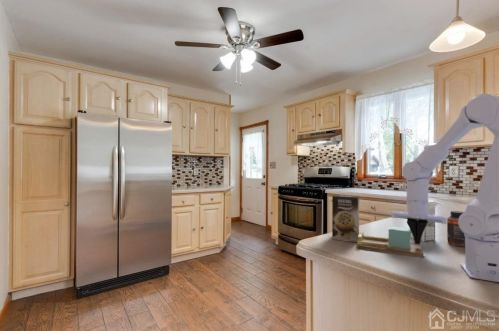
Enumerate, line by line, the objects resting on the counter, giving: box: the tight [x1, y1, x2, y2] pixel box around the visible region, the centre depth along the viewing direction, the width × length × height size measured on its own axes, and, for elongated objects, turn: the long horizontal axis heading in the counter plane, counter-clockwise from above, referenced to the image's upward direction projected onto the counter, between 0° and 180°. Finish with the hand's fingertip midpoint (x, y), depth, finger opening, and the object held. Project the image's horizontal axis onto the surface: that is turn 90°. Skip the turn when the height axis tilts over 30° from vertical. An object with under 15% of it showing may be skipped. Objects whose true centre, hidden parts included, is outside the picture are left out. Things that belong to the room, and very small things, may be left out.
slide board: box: [357, 230, 425, 259], centre depth 84 cm, size 12×18×4 cm, turn 61°
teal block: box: [388, 226, 412, 249], centre depth 82 cm, size 4×6×6 cm
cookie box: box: [331, 194, 360, 243], centre depth 94 cm, size 9×6×16 cm
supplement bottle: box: [446, 210, 465, 248], centre depth 87 cm, size 6×6×11 cm
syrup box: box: [410, 199, 437, 242], centre depth 93 cm, size 6×6×14 cm
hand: (417, 243), depth 80 cm, fingers closed
